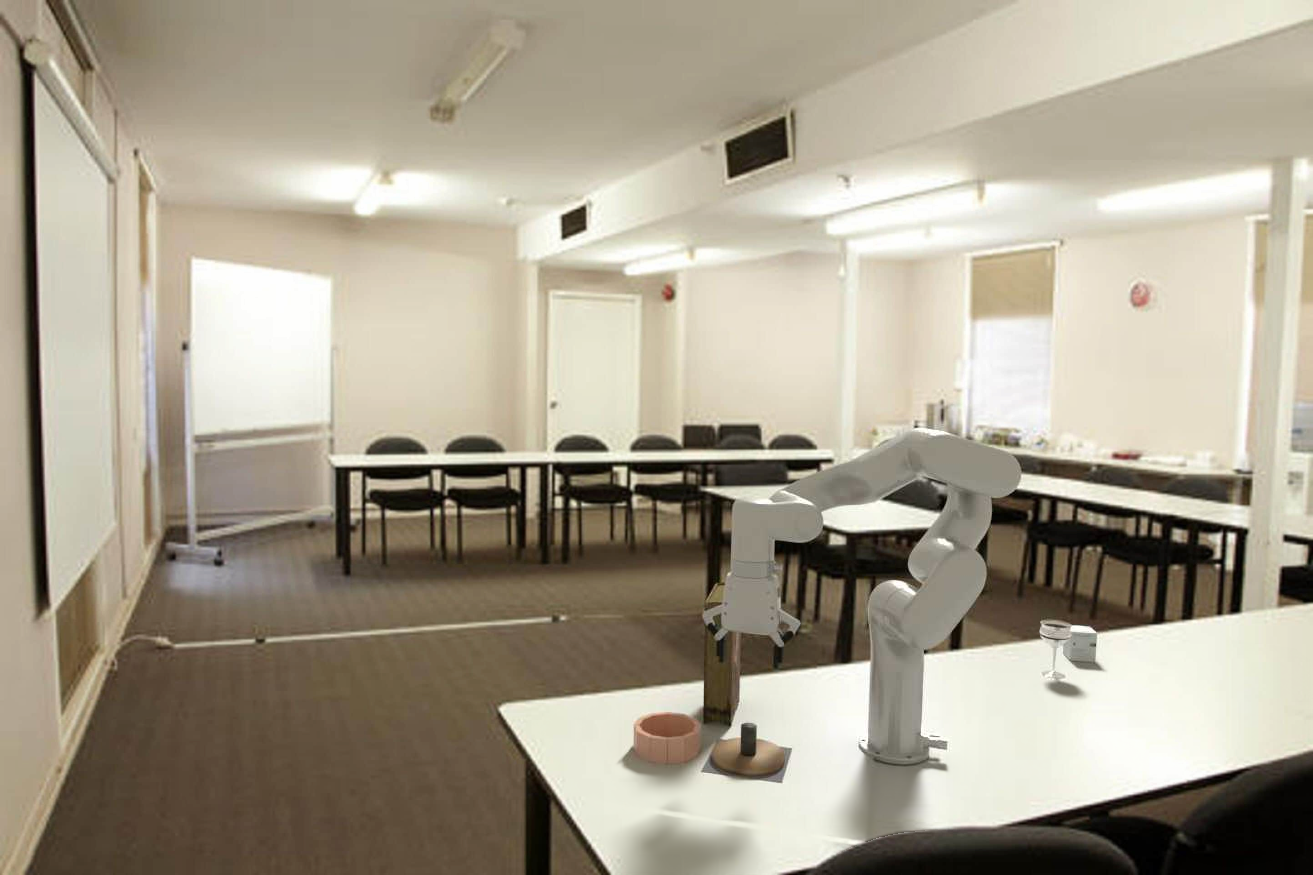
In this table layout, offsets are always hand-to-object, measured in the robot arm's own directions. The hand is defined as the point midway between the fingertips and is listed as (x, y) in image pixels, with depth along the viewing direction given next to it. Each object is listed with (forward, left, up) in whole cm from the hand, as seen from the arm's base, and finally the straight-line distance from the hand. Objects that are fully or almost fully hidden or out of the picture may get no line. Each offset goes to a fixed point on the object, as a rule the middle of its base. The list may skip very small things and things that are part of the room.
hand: (749, 663), depth 157 cm
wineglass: (-60, -66, -18) cm, 91 cm away
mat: (0, 0, -18) cm, 18 cm away
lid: (0, 0, -18) cm, 18 cm away
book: (+9, -21, -19) cm, 29 cm away
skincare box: (-68, -81, -19) cm, 107 cm away
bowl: (+15, 0, -18) cm, 23 cm away
